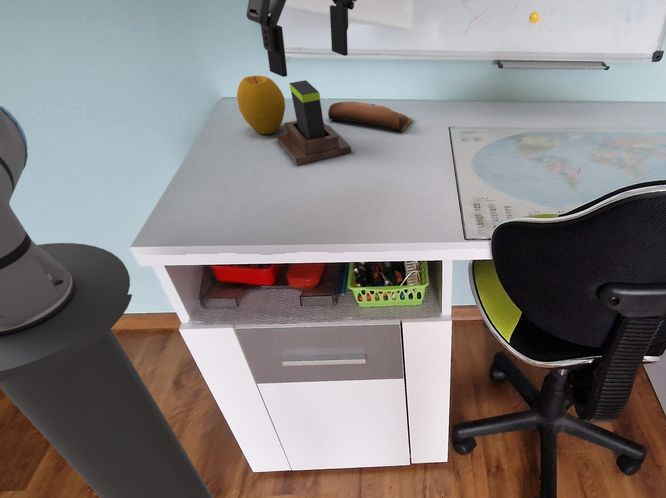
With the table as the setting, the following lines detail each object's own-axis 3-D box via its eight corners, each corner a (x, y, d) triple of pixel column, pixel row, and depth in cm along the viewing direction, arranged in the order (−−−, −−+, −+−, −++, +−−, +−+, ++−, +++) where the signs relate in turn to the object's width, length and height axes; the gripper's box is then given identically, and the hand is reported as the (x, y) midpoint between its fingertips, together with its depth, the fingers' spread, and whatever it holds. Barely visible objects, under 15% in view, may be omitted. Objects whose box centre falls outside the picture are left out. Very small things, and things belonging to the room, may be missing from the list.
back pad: (311, 149, 112) (301, 94, 104) (299, 136, 116) (288, 82, 108) (327, 145, 114) (319, 91, 106) (315, 132, 118) (306, 79, 110)
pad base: (297, 165, 110) (293, 146, 107) (277, 142, 117) (273, 124, 114) (351, 152, 115) (349, 134, 112) (329, 131, 122) (326, 113, 119)
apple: (288, 120, 125) (277, 65, 117) (292, 137, 119) (281, 82, 111) (244, 124, 123) (230, 69, 115) (246, 142, 117) (231, 85, 108)
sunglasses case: (413, 117, 127) (407, 97, 121) (405, 142, 126) (398, 124, 119) (343, 106, 130) (334, 86, 124) (334, 131, 129) (324, 112, 123)
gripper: (242, -105, 59) (268, 92, 75) (381, -112, 75) (379, 52, 91) (194, -119, 62) (229, 75, 77) (339, -123, 77) (344, 39, 93)
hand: (310, 63), depth 84 cm, fingers open, 13 cm apart
